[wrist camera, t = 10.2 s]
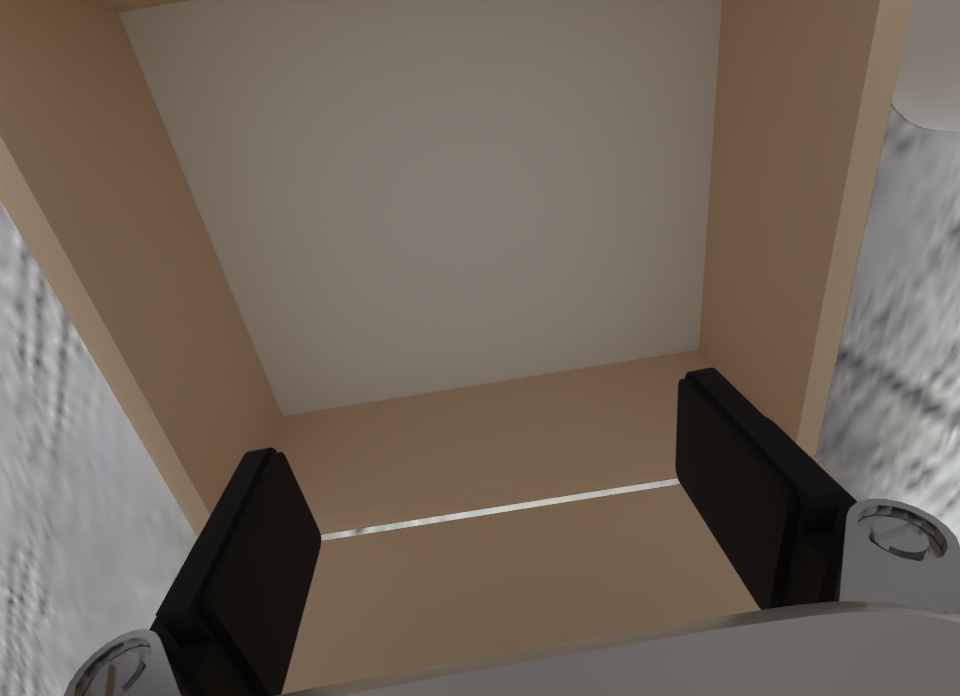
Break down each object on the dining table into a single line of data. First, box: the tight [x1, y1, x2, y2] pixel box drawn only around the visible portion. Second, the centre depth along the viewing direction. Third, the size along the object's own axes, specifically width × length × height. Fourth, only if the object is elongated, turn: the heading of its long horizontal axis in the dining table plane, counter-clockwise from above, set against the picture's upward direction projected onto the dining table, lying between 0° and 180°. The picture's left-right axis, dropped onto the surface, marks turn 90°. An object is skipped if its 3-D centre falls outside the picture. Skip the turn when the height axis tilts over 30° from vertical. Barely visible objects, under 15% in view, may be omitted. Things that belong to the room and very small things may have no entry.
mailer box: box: [0, 0, 914, 537], centre depth 17 cm, size 22×18×8 cm
